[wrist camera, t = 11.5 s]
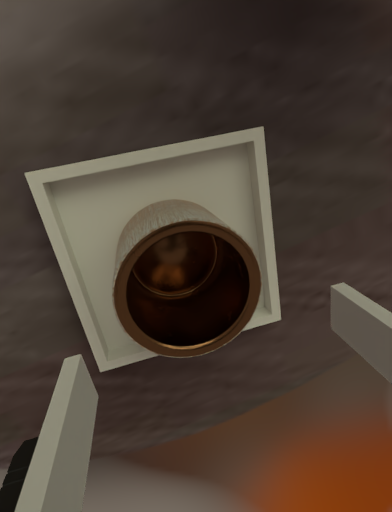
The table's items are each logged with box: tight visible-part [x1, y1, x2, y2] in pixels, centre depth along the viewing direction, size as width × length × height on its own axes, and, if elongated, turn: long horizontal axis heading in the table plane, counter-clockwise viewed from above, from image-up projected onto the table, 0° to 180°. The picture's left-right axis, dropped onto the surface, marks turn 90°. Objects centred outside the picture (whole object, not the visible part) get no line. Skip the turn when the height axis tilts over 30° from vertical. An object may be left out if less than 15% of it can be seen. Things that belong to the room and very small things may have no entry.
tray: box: [24, 126, 281, 372], centre depth 29 cm, size 20×20×2 cm
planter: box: [112, 199, 262, 358], centre depth 25 cm, size 11×11×10 cm
